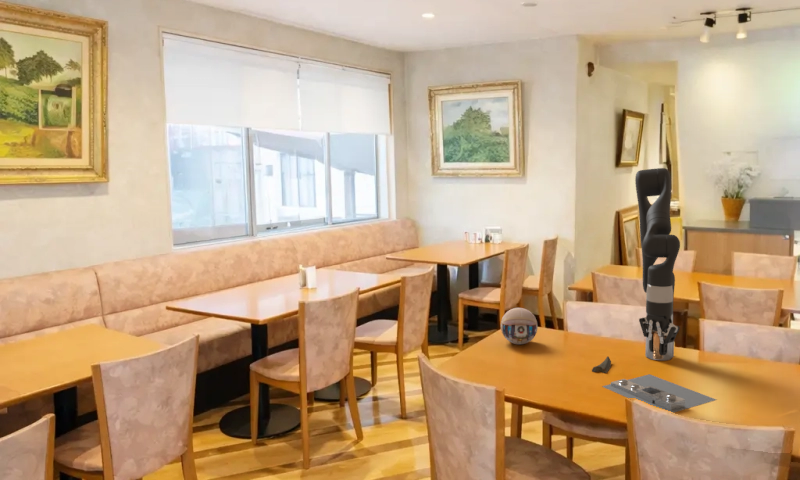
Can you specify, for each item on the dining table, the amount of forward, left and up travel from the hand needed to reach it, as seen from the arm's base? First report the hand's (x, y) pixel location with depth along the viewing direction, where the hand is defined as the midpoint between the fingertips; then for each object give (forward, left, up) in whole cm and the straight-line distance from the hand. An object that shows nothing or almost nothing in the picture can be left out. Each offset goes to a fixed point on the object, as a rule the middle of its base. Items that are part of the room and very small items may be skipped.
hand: (657, 352), depth 191 cm
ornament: (+1, -69, -15) cm, 71 cm away
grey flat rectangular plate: (-4, -3, -15) cm, 16 cm away
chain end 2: (+1, +2, -15) cm, 15 cm away
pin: (0, 0, -2) cm, 2 cm away
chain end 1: (+1, -7, -15) cm, 16 cm away
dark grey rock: (-6, -30, -16) cm, 34 cm away
